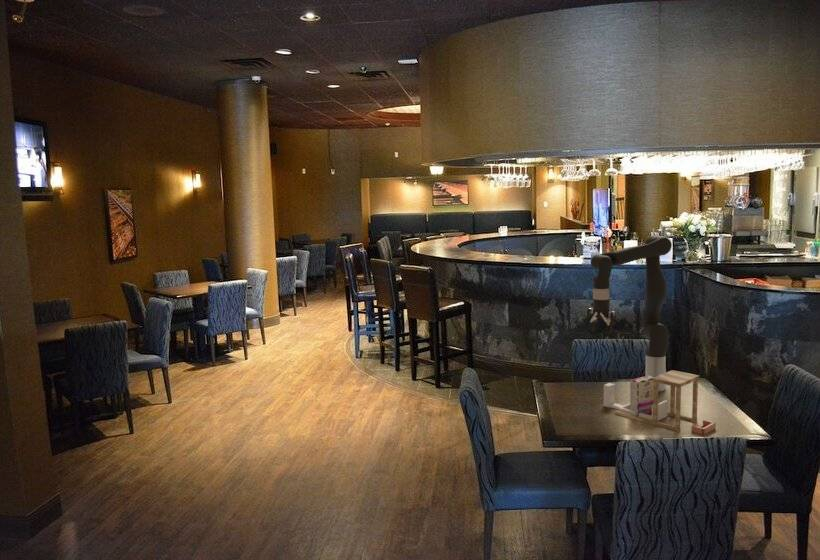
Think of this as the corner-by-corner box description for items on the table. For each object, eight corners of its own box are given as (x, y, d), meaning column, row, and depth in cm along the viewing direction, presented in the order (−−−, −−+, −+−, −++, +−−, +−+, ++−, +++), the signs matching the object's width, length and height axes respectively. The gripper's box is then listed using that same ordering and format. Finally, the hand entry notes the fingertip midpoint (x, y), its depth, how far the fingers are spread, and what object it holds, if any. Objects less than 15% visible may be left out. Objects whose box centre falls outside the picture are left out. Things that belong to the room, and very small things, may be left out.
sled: (613, 401, 315) (613, 381, 314) (667, 416, 295) (667, 394, 293) (599, 407, 308) (599, 386, 307) (653, 422, 288) (654, 400, 286)
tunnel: (634, 405, 310) (635, 362, 307) (697, 422, 287) (699, 375, 284) (614, 414, 299) (614, 369, 296) (678, 432, 277) (679, 384, 274)
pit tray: (703, 426, 282) (703, 419, 281) (715, 429, 278) (715, 422, 278) (691, 433, 276) (691, 425, 275) (703, 436, 272) (703, 429, 271)
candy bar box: (647, 410, 302) (648, 374, 300) (656, 413, 298) (657, 377, 295) (629, 415, 297) (629, 379, 295) (637, 418, 293) (638, 381, 290)
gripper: (619, 298, 313) (618, 332, 315) (593, 294, 324) (592, 328, 326) (609, 300, 308) (609, 335, 311) (583, 297, 319) (583, 330, 321)
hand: (601, 331), depth 318 cm, fingers open, 8 cm apart
